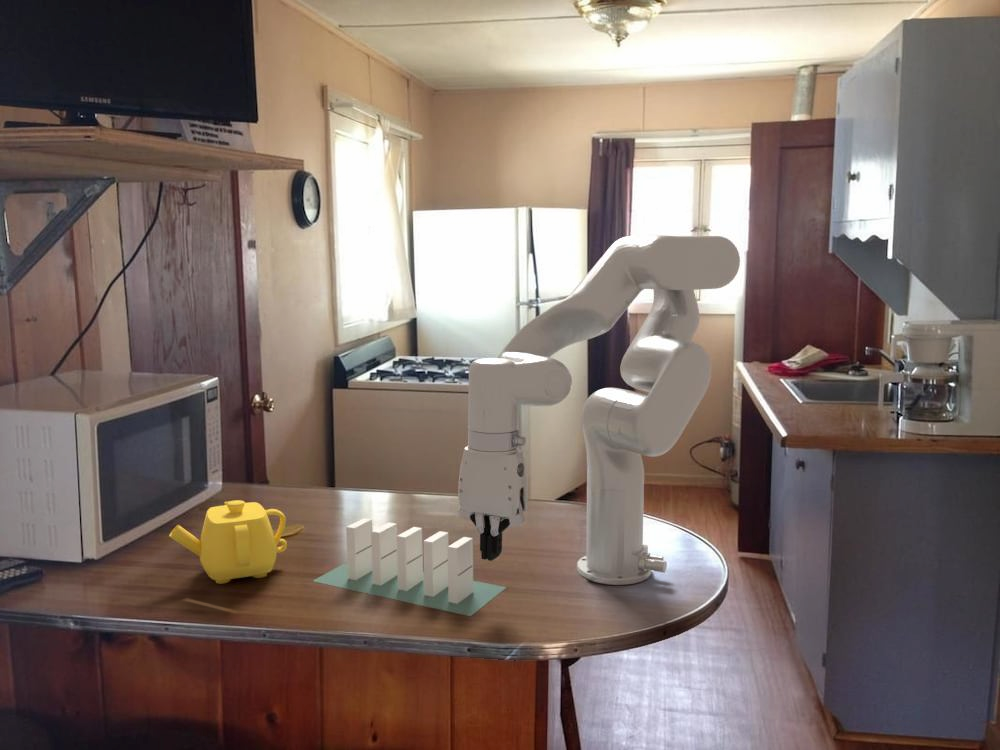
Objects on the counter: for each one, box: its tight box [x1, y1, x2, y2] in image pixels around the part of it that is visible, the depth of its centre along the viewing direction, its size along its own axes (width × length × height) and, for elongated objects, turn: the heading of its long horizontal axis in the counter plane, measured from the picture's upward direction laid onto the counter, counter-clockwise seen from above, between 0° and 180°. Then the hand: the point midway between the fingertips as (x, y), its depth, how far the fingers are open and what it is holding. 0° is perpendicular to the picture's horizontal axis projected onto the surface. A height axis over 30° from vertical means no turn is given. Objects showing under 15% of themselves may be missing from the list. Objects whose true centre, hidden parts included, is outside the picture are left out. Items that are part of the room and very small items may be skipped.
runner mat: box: [312, 561, 507, 617], centre depth 140 cm, size 30×12×1 cm, turn 63°
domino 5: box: [448, 536, 474, 604], centre depth 134 cm, size 2×5×9 cm, turn 152°
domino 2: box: [371, 521, 398, 586], centre depth 142 cm, size 2×5×9 cm, turn 153°
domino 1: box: [346, 517, 373, 580], centre depth 144 cm, size 2×5×9 cm, turn 153°
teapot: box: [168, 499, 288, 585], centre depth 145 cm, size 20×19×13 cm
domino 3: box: [397, 526, 424, 591], centre depth 139 cm, size 2×5×9 cm, turn 153°
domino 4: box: [422, 530, 450, 597], centre depth 137 cm, size 2×5×9 cm, turn 153°
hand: (490, 557), depth 132 cm, fingers closed
